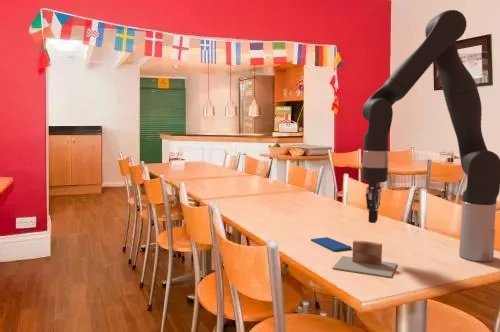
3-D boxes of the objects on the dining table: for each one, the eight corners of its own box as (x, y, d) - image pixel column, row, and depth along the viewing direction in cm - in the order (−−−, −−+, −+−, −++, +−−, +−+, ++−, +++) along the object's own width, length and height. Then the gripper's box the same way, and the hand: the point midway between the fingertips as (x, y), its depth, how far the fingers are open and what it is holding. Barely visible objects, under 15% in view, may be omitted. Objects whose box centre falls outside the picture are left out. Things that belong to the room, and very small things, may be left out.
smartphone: (327, 237, 160) (352, 247, 146) (327, 239, 160) (352, 250, 146) (309, 239, 157) (333, 249, 143) (309, 241, 157) (333, 252, 143)
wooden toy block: (381, 263, 131) (382, 243, 130) (380, 265, 129) (381, 245, 128) (353, 259, 134) (354, 239, 134) (352, 261, 132) (353, 241, 132)
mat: (396, 264, 131) (397, 263, 131) (391, 277, 120) (391, 276, 120) (342, 257, 138) (342, 255, 138) (332, 269, 127) (332, 267, 127)
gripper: (384, 168, 128) (382, 228, 129) (391, 164, 140) (388, 218, 142) (357, 167, 131) (355, 225, 133) (366, 162, 143) (364, 216, 145)
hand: (373, 221), depth 137 cm, fingers closed
